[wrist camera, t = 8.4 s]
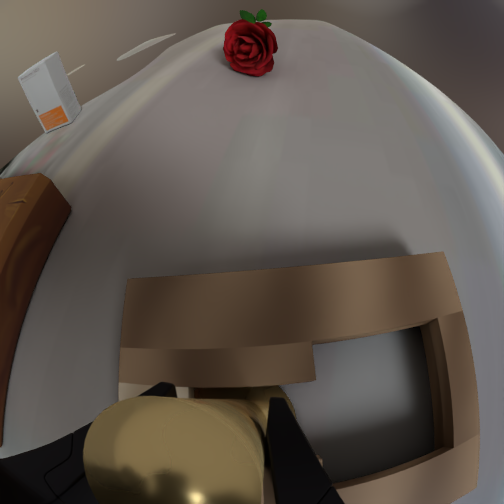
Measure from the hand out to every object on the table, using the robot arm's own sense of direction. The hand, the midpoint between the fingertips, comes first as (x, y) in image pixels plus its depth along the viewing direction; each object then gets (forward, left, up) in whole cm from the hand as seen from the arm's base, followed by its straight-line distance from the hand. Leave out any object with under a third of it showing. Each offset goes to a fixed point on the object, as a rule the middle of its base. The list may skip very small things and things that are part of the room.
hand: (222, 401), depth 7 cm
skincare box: (+3, +45, -7) cm, 45 cm away
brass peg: (-1, -1, -7) cm, 7 cm away
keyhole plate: (+2, -3, -7) cm, 8 cm away
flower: (+34, +35, -7) cm, 50 cm away
